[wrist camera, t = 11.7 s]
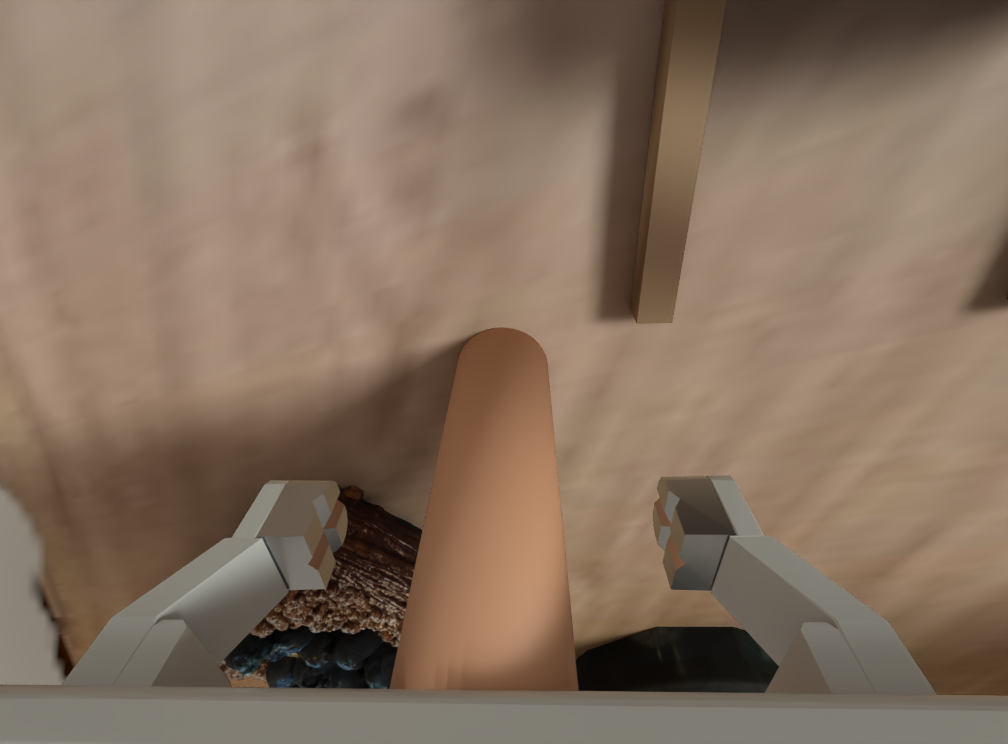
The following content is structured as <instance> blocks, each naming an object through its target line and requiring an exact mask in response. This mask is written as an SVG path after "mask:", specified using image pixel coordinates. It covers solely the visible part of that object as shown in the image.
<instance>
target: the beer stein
mask: <svg viewBox="0 0 1008 744" xmlns="http://www.w3.org/2000/svg"><path fill="white" fill-rule="evenodd" d="M576 668H577V679H578V689H579V691H622V692H711V693H765V692H766V690H767V688H768V686H769V684H770V682H771V681H772V679H773V677H774V675H775V673H776V672H777V670H778V668H779V666H778V665H777V664H776V663H775V661H774V660H773V659H772V658H771V657H770V656H769V655H768V654H767V653H766V652H765V651H764V650H763V648H762V647H761V646H760V645H759V644H758V643H757V642H756V641H755V640H754V639H753V638H752V637H751V635H750V634H749V633H748V632H747V631H745V630H742V629H738V628H734V627H656V628H653V629H650V630H647V631H644V632H641V633H638V634H635V635H632V636H629V637H626V638H623V639H620V640H617V641H615V642H612V643H609V644H606V645H603V646H600V647H597V648H594V649H591V650H588V651H587V652H585V653H584V654H583V655H582V656H580V657H579V658H578V659H577V660H576Z"/></svg>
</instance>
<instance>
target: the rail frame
mask: <svg viewBox="0 0 1008 744" xmlns="http://www.w3.org/2000/svg"><path fill="white" fill-rule="evenodd" d="M726 3H727V0H665V4H664V13H663V22H662V31H661V40H660V48H659V57H658V66H657V75H656V84H655V93H654V101H653V110H652V119H651V128H650V137H649V146H648V154H647V163H646V172H645V181H644V190H643V199H642V207H641V216H640V225H639V234H638V243H637V252H636V260H635V269H634V278H633V287H632V296H631V304H630V310H631V312H632V314H633V316H634V318H635V321H636V323H637V324H641V323H672V320H673V315H674V309H675V303H676V297H677V291H678V285H679V279H680V273H681V267H682V262H683V256H684V250H685V244H686V238H687V232H688V226H689V220H690V214H691V209H692V203H693V197H694V191H695V185H696V179H697V173H698V167H699V162H700V156H701V150H702V144H703V138H704V132H705V126H706V120H707V114H708V109H709V103H710V97H711V91H712V85H713V79H714V73H715V67H716V61H717V56H718V50H719V44H720V38H721V32H722V26H723V20H724V14H725V8H726ZM1007 299H1008V297H1007Z"/></svg>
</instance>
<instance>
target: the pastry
mask: <svg viewBox="0 0 1008 744" xmlns="http://www.w3.org/2000/svg"><path fill="white" fill-rule="evenodd" d="M339 490H340V494H339V496H338V498H337V500H339V501H340V502H341V503H343V504H344V505H345V508H346V511H347V518H348V524H347V532H346V536H345V539H344V542H343V545H342V546H341V547H340V548H339V549H338V550H336V551H335V552H334V553H333V556H334V559H335V561H336V564H335V566H334V569H333V572H332V574H331V577H330V580H329V582H328V585H327V588H326V589H311V590H288V591H289V593H288V594H287V595H286V596H285V597H284V598H283V599H282V600H281V601H280V602H279V603H278V604H277V605H276V606H275V607H274V608H273V609H272V610H271V611H270V612H269V613H268V614H267V615H266V616H265V617H264V618H263V619H262V620H261V622H260V623H259V624H258V625H257V626H256V627H255V628H254V629H253V630H252V631H251V632H250V633H249V634H248V635H247V636H246V637H245V638H244V639H243V640H242V641H241V642H240V643H239V644H238V645H237V646H236V647H235V648H234V649H233V650H232V651H231V652H230V653H229V654H228V656H227V657H226V658H225V659H224V660H223V661H222V662H221V663H220V664H219V665H218V666H219V667H220V669H221V670H222V671H223V673H224V674H225V675H226V677H228V678H231V679H237V680H242V679H244V678H245V677H253V678H256V679H259V680H263V681H265V683H266V684H268V685H269V686H270V688H352V689H389V688H390V684H391V679H392V674H393V669H394V665H395V660H396V655H397V650H398V645H399V641H400V636H401V631H402V626H403V621H404V617H405V612H406V607H407V602H408V597H409V593H410V588H411V583H412V578H413V574H414V569H415V564H416V559H417V554H418V550H419V545H420V540H421V535H422V530H421V529H419V528H417V527H415V526H413V525H412V524H410V523H409V522H407V521H404V520H402V519H400V518H398V517H396V516H394V515H392V514H390V513H388V512H386V511H385V510H384V509H383V508H382V507H381V506H378V505H373V504H370V503H368V502H366V501H364V500H363V499H362V495H363V491H362V490H360V489H358V488H356V487H354V486H349V487H347V488H345V489H339Z"/></svg>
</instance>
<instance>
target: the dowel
mask: <svg viewBox="0 0 1008 744" xmlns="http://www.w3.org/2000/svg"><path fill="white" fill-rule="evenodd" d="M389 689H447V690H538V691H579V689H578V679H577V668H576V658H575V647H574V637H573V626H572V616H571V605H570V595H569V584H568V574H567V563H566V553H565V542H564V532H563V521H562V511H561V500H560V490H559V479H558V469H557V459H556V448H555V438H554V427H553V417H552V406H551V396H550V385H549V375H548V364H547V358H546V355H545V353H544V351H543V349H542V347H541V346H540V345H539V343H538V342H537V341H536V340H535V339H533V338H532V337H531V336H529V335H527V334H526V333H524V332H521V331H519V330H515V329H510V328H493V329H488V330H485V331H482V332H480V333H478V334H477V335H475V336H473V337H472V338H471V339H470V340H469V341H468V342H467V343H466V344H465V345H464V347H463V348H462V350H461V352H460V355H459V358H458V363H457V368H456V372H455V377H454V382H453V387H452V392H451V396H450V401H449V406H448V411H447V416H446V420H445V425H444V430H443V435H442V440H441V444H440V449H439V454H438V459H437V463H436V468H435V473H434V478H433V483H432V487H431V492H430V497H429V502H428V507H427V511H426V516H425V521H424V526H423V530H422V535H421V540H420V545H419V550H418V554H417V559H416V564H415V569H414V574H413V578H412V583H411V588H410V593H409V597H408V602H407V607H406V612H405V617H404V621H403V626H402V631H401V636H400V641H399V645H398V650H397V655H396V660H395V665H394V669H393V674H392V679H391V684H390V688H389Z"/></svg>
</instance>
